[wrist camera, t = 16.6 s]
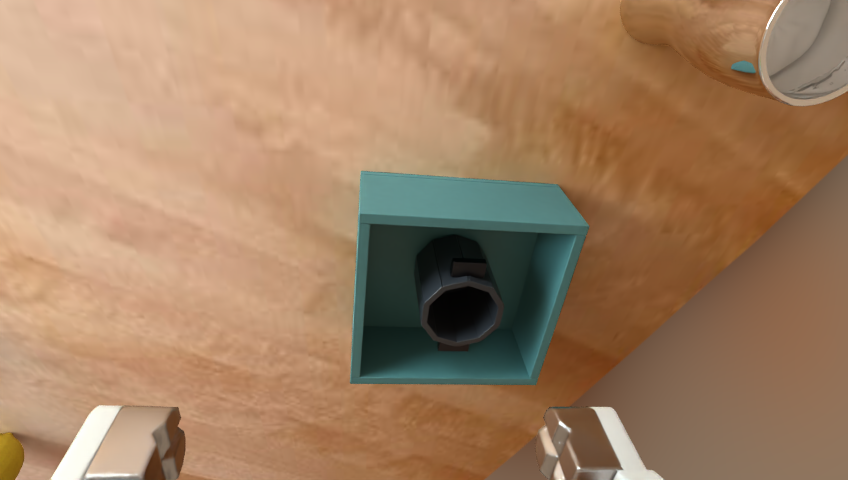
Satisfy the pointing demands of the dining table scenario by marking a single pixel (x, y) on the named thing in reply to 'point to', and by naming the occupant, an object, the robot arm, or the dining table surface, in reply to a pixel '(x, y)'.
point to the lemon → (10, 456)
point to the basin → (508, 258)
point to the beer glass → (753, 43)
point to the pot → (456, 293)
